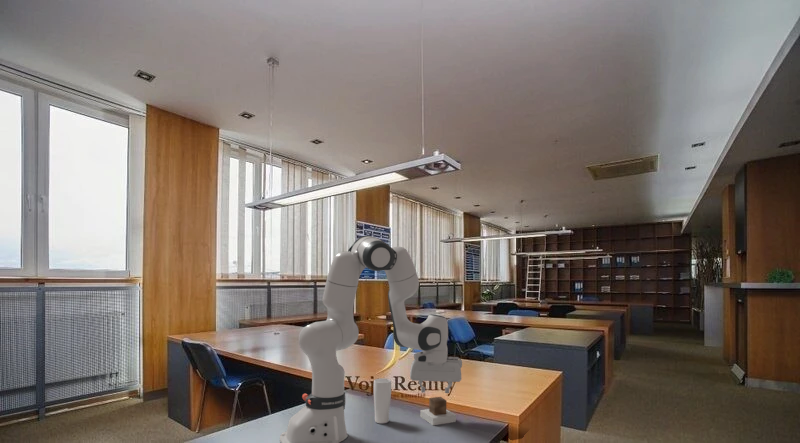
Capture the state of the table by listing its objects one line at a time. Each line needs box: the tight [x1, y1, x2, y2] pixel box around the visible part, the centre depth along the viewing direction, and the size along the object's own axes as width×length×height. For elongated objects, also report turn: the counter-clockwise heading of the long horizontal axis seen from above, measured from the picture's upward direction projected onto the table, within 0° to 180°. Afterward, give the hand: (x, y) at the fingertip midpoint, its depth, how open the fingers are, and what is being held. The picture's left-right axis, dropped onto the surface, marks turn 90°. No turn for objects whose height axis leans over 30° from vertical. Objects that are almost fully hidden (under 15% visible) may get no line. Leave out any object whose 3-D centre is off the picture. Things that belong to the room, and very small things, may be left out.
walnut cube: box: [428, 396, 447, 415], centre depth 161 cm, size 5×5×5 cm
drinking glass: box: [373, 377, 392, 425], centre depth 158 cm, size 7×7×15 cm
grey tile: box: [419, 408, 457, 426], centre depth 161 cm, size 10×10×2 cm
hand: (435, 392), depth 163 cm, fingers open, 8 cm apart
